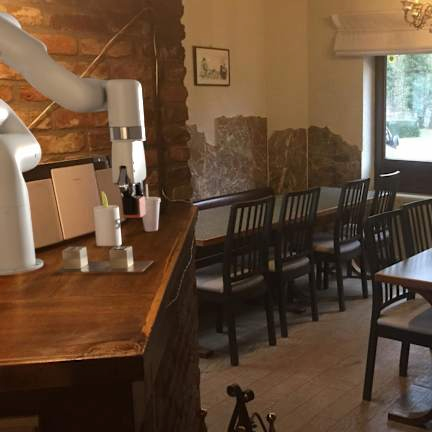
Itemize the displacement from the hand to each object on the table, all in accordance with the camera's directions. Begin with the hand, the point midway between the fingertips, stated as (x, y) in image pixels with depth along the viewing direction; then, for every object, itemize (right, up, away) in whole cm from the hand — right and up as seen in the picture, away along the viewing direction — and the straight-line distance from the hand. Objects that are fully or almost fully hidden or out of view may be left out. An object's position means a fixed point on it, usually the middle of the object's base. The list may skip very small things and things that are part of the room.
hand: (134, 211), depth 147 cm
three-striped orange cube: (0, -1, 0) cm, 1 cm away
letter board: (-8, -14, +2) cm, 16 cm away
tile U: (-4, -13, +2) cm, 14 cm away
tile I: (-15, -13, +2) cm, 20 cm away
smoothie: (-12, -5, +42) cm, 44 cm away
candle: (-17, -9, +24) cm, 31 cm away
